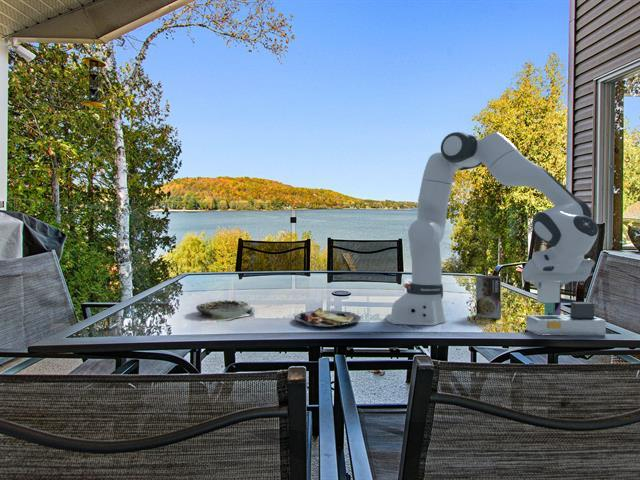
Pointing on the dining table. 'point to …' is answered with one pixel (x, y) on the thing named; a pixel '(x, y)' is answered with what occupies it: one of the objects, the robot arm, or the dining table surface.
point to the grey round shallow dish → (224, 310)
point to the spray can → (553, 308)
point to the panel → (549, 292)
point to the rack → (568, 322)
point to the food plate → (327, 318)
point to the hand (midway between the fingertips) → (547, 286)
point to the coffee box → (488, 296)
